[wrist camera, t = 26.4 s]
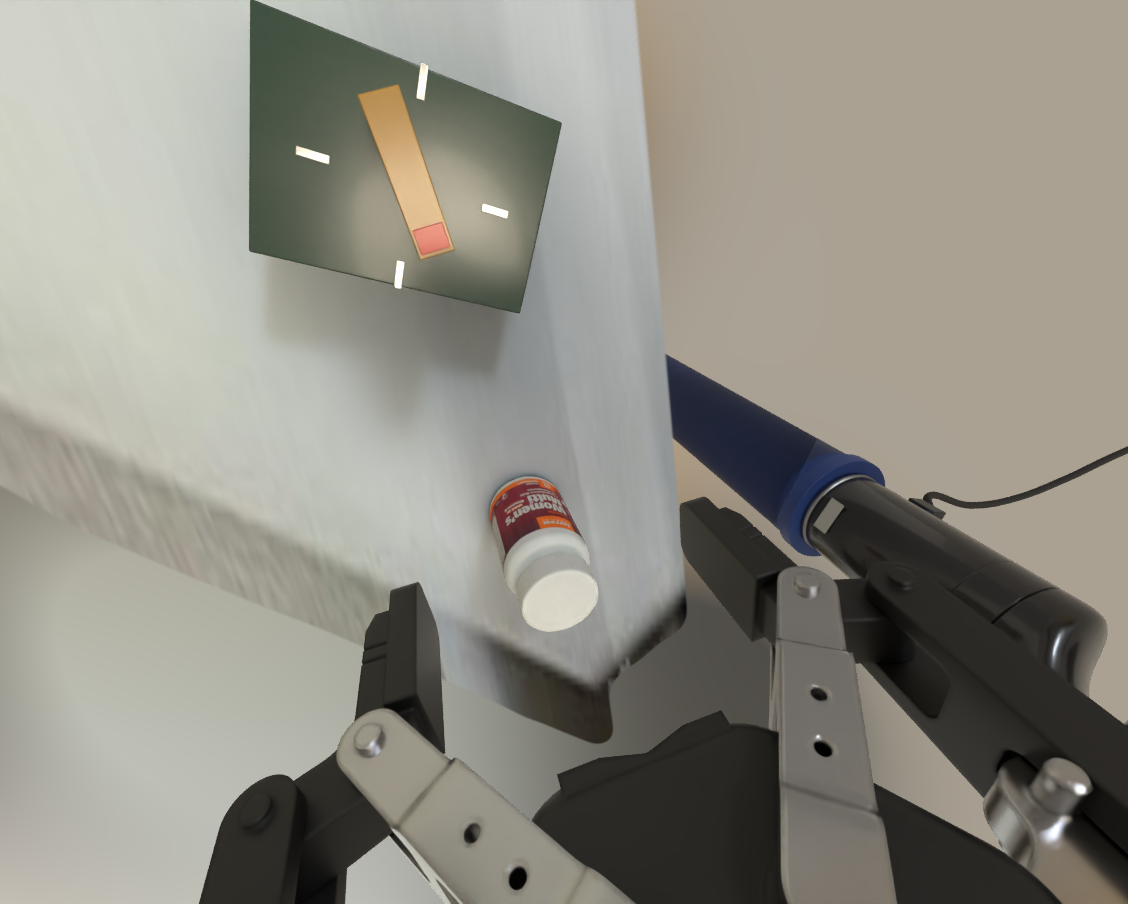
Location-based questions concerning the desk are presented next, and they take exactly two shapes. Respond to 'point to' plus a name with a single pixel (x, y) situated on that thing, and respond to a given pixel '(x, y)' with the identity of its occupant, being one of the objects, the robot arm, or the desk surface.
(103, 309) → the desk surface
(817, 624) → the robot arm
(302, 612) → the desk surface
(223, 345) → the desk surface
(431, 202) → the mustard yellow slab
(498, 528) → the pill bottle
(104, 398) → the desk surface
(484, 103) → the dark green block
